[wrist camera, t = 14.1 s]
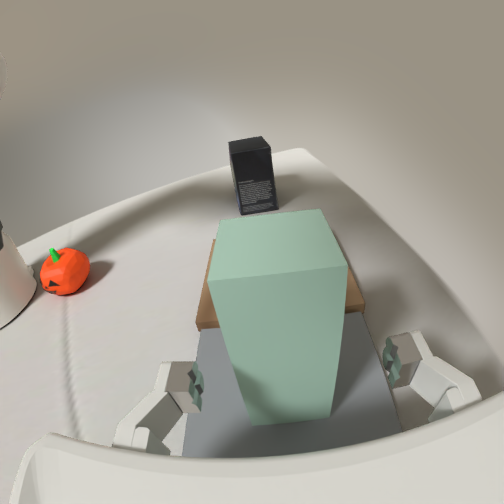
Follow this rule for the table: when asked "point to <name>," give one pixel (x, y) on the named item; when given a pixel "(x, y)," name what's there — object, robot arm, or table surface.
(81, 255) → the pumpkin
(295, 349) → the green block
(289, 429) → the rubber mat
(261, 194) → the small box
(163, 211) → the table surface
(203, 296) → the pocket board
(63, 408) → the table surface
